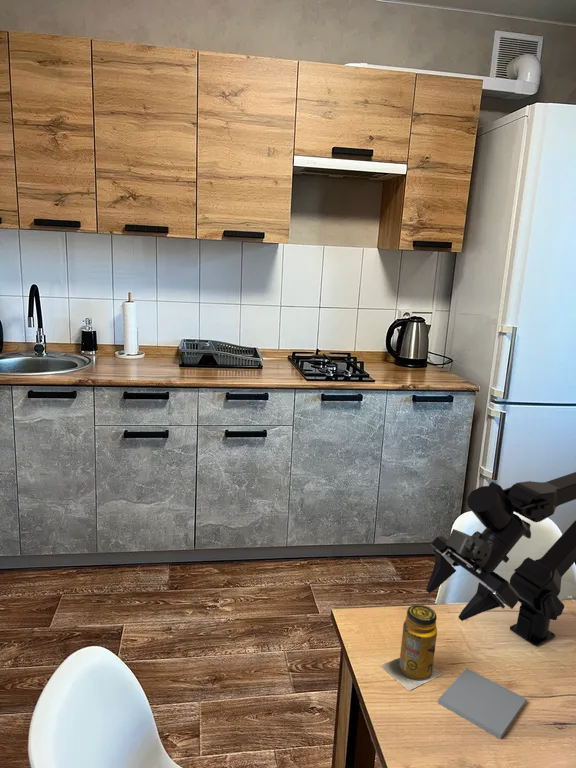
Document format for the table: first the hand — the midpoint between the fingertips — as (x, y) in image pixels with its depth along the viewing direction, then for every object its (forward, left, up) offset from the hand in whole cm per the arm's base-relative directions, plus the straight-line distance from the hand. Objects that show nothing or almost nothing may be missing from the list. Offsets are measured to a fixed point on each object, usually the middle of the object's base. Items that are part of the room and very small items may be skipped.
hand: (443, 605), depth 109 cm
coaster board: (+1, +11, -12) cm, 17 cm away
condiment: (+6, -1, -12) cm, 14 cm away
